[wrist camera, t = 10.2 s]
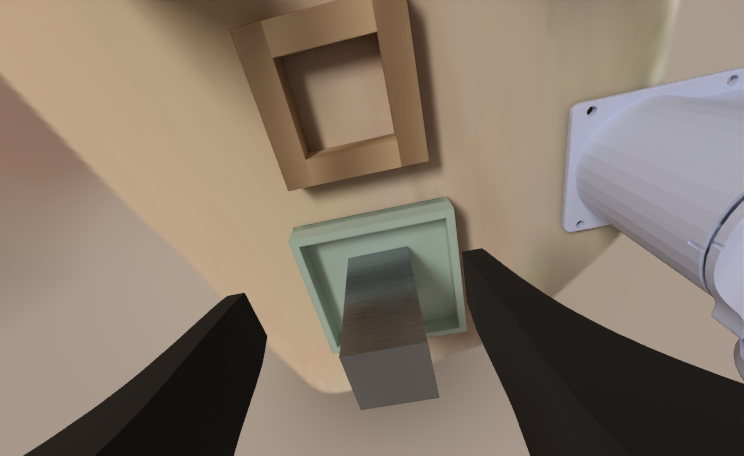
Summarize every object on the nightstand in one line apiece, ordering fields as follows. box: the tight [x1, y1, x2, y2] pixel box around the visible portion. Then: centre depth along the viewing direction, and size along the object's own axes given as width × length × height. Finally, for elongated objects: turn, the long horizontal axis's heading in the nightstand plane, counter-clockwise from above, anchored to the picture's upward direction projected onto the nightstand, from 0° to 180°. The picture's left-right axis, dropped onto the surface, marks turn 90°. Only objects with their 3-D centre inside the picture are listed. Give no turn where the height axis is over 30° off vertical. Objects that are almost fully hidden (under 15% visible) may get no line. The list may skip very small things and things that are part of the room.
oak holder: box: [229, 0, 429, 191], centre depth 17 cm, size 8×8×2 cm
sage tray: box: [288, 197, 467, 354], centre depth 22 cm, size 10×10×2 cm
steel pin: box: [339, 246, 439, 410], centre depth 19 cm, size 4×4×8 cm
